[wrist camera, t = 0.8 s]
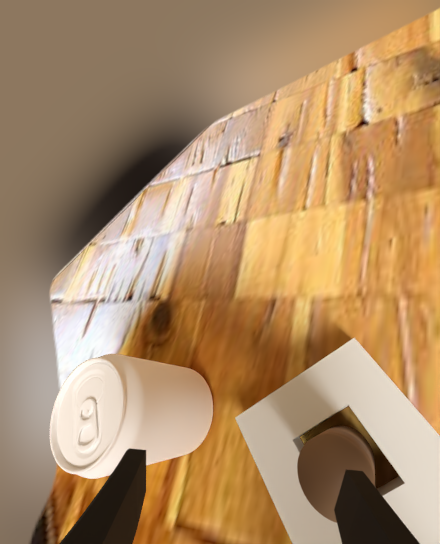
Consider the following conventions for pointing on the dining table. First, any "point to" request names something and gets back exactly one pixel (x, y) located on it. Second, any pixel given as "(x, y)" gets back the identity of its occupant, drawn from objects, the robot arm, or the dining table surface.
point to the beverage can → (127, 413)
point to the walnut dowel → (332, 465)
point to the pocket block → (377, 421)
